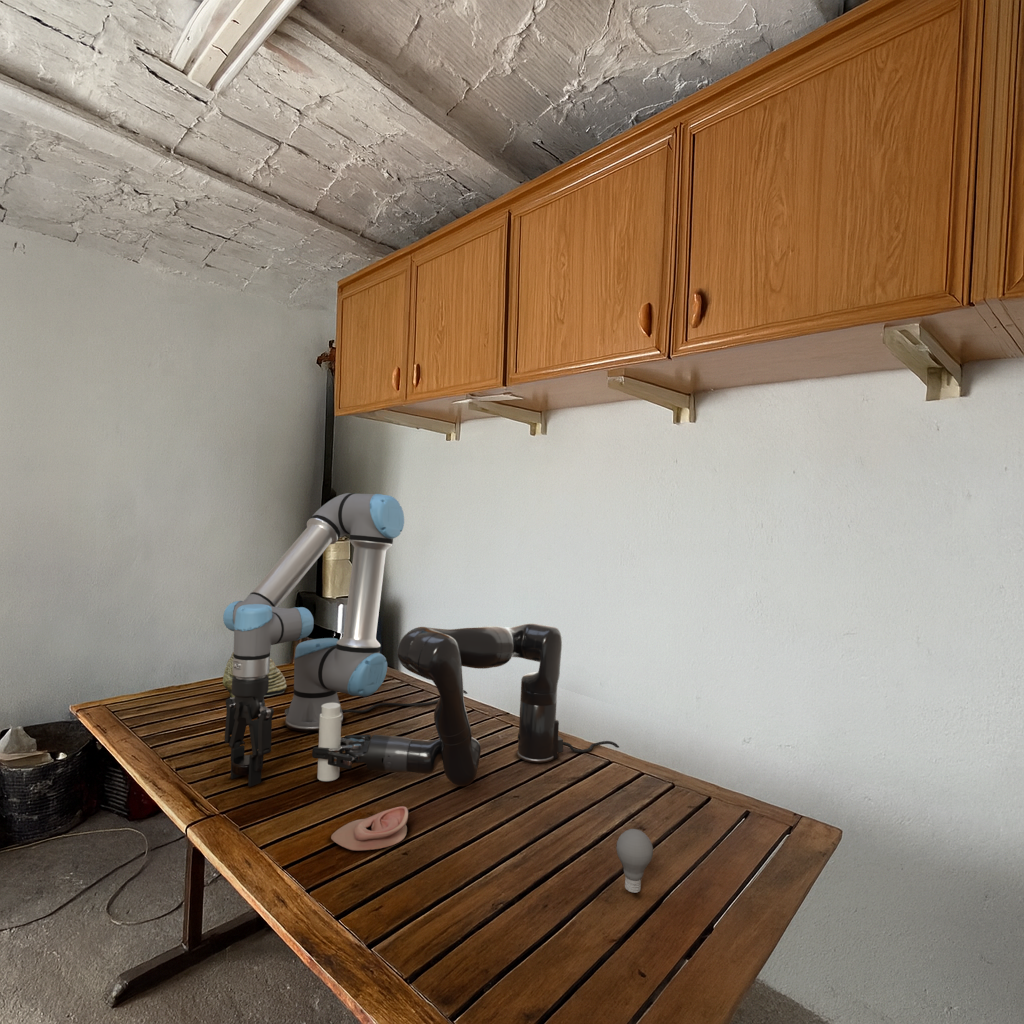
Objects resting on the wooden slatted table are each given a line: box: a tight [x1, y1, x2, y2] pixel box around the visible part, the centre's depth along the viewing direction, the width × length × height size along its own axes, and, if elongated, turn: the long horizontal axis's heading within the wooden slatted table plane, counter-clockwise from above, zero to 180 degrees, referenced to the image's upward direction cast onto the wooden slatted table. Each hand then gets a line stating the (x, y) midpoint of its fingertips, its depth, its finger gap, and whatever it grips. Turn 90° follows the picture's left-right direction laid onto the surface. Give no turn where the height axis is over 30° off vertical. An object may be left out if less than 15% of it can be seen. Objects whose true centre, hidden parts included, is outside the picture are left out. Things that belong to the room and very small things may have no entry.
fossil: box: [222, 651, 288, 698], centre depth 198 cm, size 9×18×15 cm, turn 132°
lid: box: [232, 754, 250, 776], centre depth 140 cm, size 6×6×2 cm
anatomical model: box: [330, 805, 409, 852], centre depth 119 cm, size 13×4×12 cm
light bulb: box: [615, 828, 654, 894], centre depth 106 cm, size 6×6×10 cm
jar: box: [316, 703, 342, 782], centre depth 143 cm, size 5×5×16 cm
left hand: (245, 780), depth 140 cm, fingers closed on lid, 5 cm apart
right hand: (318, 747), depth 144 cm, fingers closed on jar, 4 cm apart
